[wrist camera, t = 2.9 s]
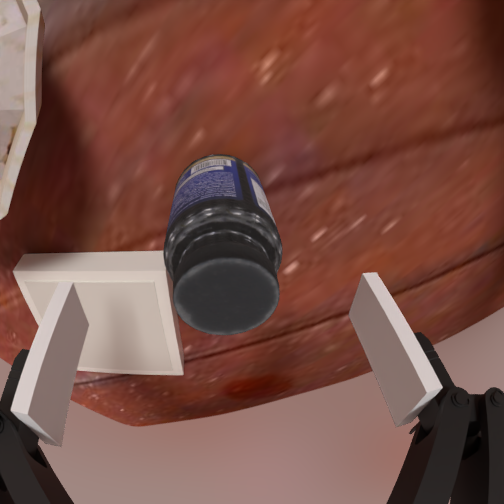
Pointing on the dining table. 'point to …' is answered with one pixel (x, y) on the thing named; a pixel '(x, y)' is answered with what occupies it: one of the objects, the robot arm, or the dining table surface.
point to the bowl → (18, 87)
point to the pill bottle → (222, 247)
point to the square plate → (112, 307)
